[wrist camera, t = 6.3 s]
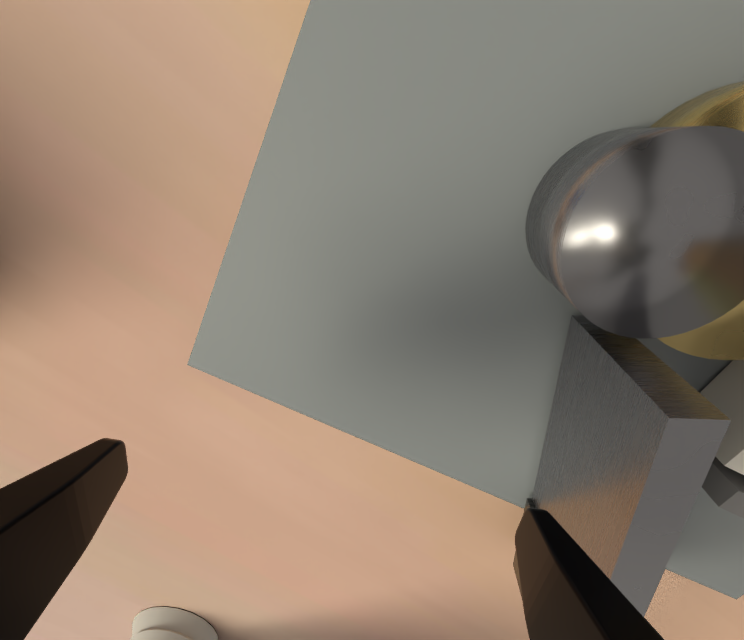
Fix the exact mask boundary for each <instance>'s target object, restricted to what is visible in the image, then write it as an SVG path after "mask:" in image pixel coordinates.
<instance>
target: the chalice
mask: <svg viewBox="0 0 744 640" xmlns="http://www.w3.org/2000/svg"><path fill="white" fill-rule="evenodd" d="M130 640H218V636H217V634H216V632H215V630H214V629H213V627H212V626H211V625H210V624H208V623H207V622H206V621H205V620H204V619H202V618H200V617H199V616H197V615H195V614H193V613H191V612H187V611H184V610H181V609H178V608H170V607H154V608H149V609H146V610H143V611H141V612H140V613H139V614H137V615H136V616H135V617H134V620H133V623H132V637H131V639H130Z"/></svg>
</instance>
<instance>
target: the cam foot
mask: <svg viewBox="0 0 744 640" xmlns="http://www.w3.org/2000/svg"><path fill="white" fill-rule="evenodd" d="M700 394H701V395H703V396H704V397H705V398H706V399H707V400H708V401H710V402H711V403H712V404H713V405H714V406H715V407H717V408H718V409H719V410H720V411H721V412H722V413H724V414H725V415H726V416H727V417H728V418H729V419H731V422H730V424H729V426H728V428H727V431H726V433H725V435H724V438H723V440H722V442H721V444H720V447H719V449H718V451H717V453H716V456H715V457H716V458H717V459H718V460H719V461H720V462H721V463H722V464H723V465H724V466H726V467H728V468H730V469H732V470H734V471H736V472H738V473H740V474H743V475H744V360H733V361H732V362H731V363H730V364H729V365H728V366H727V367H726V368H725V369H724V370H723V371H722V372H720V373H719V374H718V375H717V376H716V377H715V378H714V379H713V380H712V381H711V382H710V383H709V384H708V385H707V386H706V387H705V388H704V389H703V390H702V391H701V392H700Z"/></svg>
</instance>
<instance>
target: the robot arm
mask: <svg viewBox="0 0 744 640" xmlns="http://www.w3.org/2000/svg"><path fill="white" fill-rule="evenodd" d="M127 473H128V463H127V455H126V448H125V444H124V442H123V441H121V440H116V439H109V438H103V439H100V440H98V441H96V442H94V443H92V444H90V445H88V446H86V447H84V448H82V449H80V450H78V451H76V452H74V453H72V454H70V455H68V456H66V457H64V458H62V459H59V460H57V461H55V462H53V463H51V464H49V465H47V466H45V467H43V468H41V469H39V470H37V471H35V472H33V473H31V474H29V475H27V476H25V477H23V478H21V479H19V480H17V481H15V482H13V483H11V484H9V485H7V486H5V487H3V488H1V489H0V640H24V639H25V637H26V636H27V634H28V633H29V631H30V630H31V629H32V627H33V626H34V624H35V623H36V621H37V620H38V618H39V617H40V615H41V614H42V613H43V611H44V610H45V608H46V607H47V605H48V604H49V602H50V601H51V599H52V598H53V597H54V595H55V594H56V592H57V591H58V589H59V588H60V586H61V585H62V583H63V582H64V581H65V579H66V578H67V576H68V575H69V573H70V572H71V570H72V569H73V567H74V566H75V565H76V563H77V562H78V560H79V559H80V557H81V556H82V554H83V553H84V551H85V550H86V548H87V546H88V545H89V543H90V541H91V540H92V538H93V536H94V535H95V533H96V531H97V529H98V527H99V526H100V524H101V522H102V520H103V518H104V517H105V515H106V513H107V511H108V509H109V508H110V506H111V504H112V502H113V500H114V499H115V497H116V495H117V493H118V491H119V490H120V488H121V486H122V484H123V482H124V481H125V479H126V476H127ZM515 546H516V554H517V562H518V569H519V577H520V585H521V592H522V600H523V607H524V614H525V620H526V625H527V629H528V634H529V638H530V640H664V639H663V638H662V637H661V636H660V634H659V633H658V632H657V631H656V630H655V629H654V628H653V627H652V626H651V624H650V623H649V622H648V621H647V620H646V619H645V618H644V617H643V616H642V615H641V613H640V612H639V611H638V610H637V609H636V608H635V607H634V606H633V605H632V603H631V602H630V601H629V600H628V599H627V598H626V597H625V596H624V595H623V594H622V592H621V591H620V590H619V589H618V588H617V587H616V586H615V585H614V584H613V582H612V581H611V580H610V579H609V578H608V577H607V576H606V575H605V574H604V573H603V571H602V570H601V569H600V568H599V567H598V566H597V565H596V564H595V563H594V561H593V560H592V559H591V558H590V557H589V556H588V555H587V554H586V553H585V552H584V550H583V549H582V548H581V547H580V546H579V545H578V544H577V543H576V542H575V540H574V539H573V538H572V537H571V536H570V535H569V534H568V533H567V532H566V531H565V529H564V528H563V527H562V526H561V525H560V524H559V523H558V522H557V521H556V519H555V518H554V517H553V516H552V515H551V514H550V513H549V512H548V511H546V510H543V509H537V508H531V507H530V508H527V509H526V511H525V512H524V515H523V517H522V519H521V521H520V524H519V526H518V528H517V531H516V534H515Z"/></svg>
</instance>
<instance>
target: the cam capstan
mask: <svg viewBox="0 0 744 640" xmlns="http://www.w3.org/2000/svg"><path fill="white" fill-rule="evenodd" d="M525 233H526V243H527V248H528V251H529V254H530V257H531V259H532V261H533V263H534V265H535V266H536V268H537V269H538V270H539V272H540V273H541V274H542V275H543V276H544V277H545V278H546V279H547V280H548V281H549V282H550V283H551V284H552V285H553V286H554V287H555V288H556V289H557V290H558V291H559V292H560V293H561V294H562V295H563V296H564V297H565V298H566V299H567V300H568V301H569V302H570V303H571V304H572V305H573V306H574V307H575V308H576V309H577V310H579V311H580V312H581V313H582V314H583V315H571V319H570V323H569V328H568V333H567V337H566V342H565V347H564V351H563V356H562V361H561V365H560V370H559V375H558V379H557V384H556V389H555V393H554V398H553V402H552V407H551V412H550V416H549V421H548V426H547V430H546V435H545V440H544V444H543V449H542V454H541V458H540V463H539V468H538V472H537V477H536V481H535V486H534V491H533V495H532V498H527V499H526V504H525V509H524V512H525V511H526V509H527V508H530V507H531V508H537V509H543V510H546V511H548V512H549V513H550V514H551V515H552V516H553V517H554V518H555V519H556V521H557V522H558V523H559V524H560V525H561V526H562V527H563V528H564V529H565V531H566V532H567V533H568V534H569V535H570V536H571V537H572V538H573V539H574V540H575V542H576V543H577V544H578V545H579V546H580V547H581V548H582V549H583V550H584V552H585V553H586V554H587V555H588V556H589V557H590V558H591V559H592V560H593V561H594V563H595V564H596V565H597V566H598V567H599V568H600V569H601V570H602V571H603V573H604V574H605V575H606V576H607V577H608V578H609V579H610V580H611V581H612V582H613V584H614V585H615V586H616V587H617V588H618V589H619V590H620V591H621V592H622V594H623V595H624V596H625V597H626V598H627V599H628V600H629V601H630V602H631V603H632V605H633V606H634V607H635V608H636V609H637V610H638V611H639V612H640V613H641V615H642V616H643V617H644V616H645V613H646V611H647V609H648V607H649V604H650V602H651V600H652V598H653V595H654V593H655V591H656V589H657V586H658V584H659V582H660V580H661V577H662V575H663V573H664V571H665V568H666V566H667V564H668V562H669V559H670V557H671V555H672V553H673V550H674V548H675V546H676V543H677V541H678V539H679V537H680V534H681V532H682V530H683V528H684V525H685V523H686V521H687V519H688V516H689V514H690V512H691V510H692V507H693V505H694V503H695V501H696V498H697V496H698V494H699V492H700V489H701V487H702V485H703V483H704V480H705V478H706V476H707V474H708V471H709V469H710V467H711V465H712V462H713V460H714V458H715V456H716V453H717V451H718V449H719V447H720V444H721V442H722V440H723V438H724V435H725V433H726V431H727V428H728V426H729V424H730V422H731V419H729V418H728V417H727V416H726V415H725V414H724V413H722V412H721V411H720V410H719V409H718V408H717V407H715V406H714V405H713V404H712V403H711V402H710V401H708V400H707V399H706V398H705V397H704V396H703V395H701V394H700V393H699V392H698V391H697V390H696V389H694V388H693V387H692V386H691V385H690V384H689V383H688V382H686V381H685V380H684V379H683V378H682V377H681V376H679V375H678V374H677V373H676V372H675V371H674V370H672V369H671V368H670V367H669V366H668V365H667V364H665V363H664V362H663V361H662V360H661V359H660V358H658V357H657V356H656V355H655V354H654V353H653V352H651V351H650V350H649V349H648V348H647V347H646V346H644V345H643V344H642V343H641V342H640V341H639V340H637V339H636V338H641V339H649V338H657V339H659V340H660V341H662V342H663V343H664V344H666V345H668V346H670V347H672V348H674V349H676V350H678V351H681V352H684V353H686V354H689V355H692V356H697V357H702V358H707V359H717V360H744V81H743V82H738V83H733V84H729V85H725V86H722V87H719V88H716V89H713V90H710V91H707V92H705V93H703V94H701V95H699V96H697V97H694V98H692V99H690V100H688V101H686V102H685V103H683V104H681V105H680V106H678V107H676V108H675V109H673V110H672V111H670V112H668V113H667V114H666V115H665V116H663V117H662V118H661V119H659V120H658V121H657V122H655V123H654V124H653V125H652V126H650V127H649V128H626V129H617V130H612V131H607V132H604V133H601V134H598V135H595V136H593V137H591V138H589V139H587V140H584V141H582V142H581V143H579V144H578V145H576V146H574V147H573V148H571V149H570V150H569V151H568V152H566V153H565V154H564V155H563V156H561V157H560V158H559V159H558V160H557V161H556V162H555V163H554V164H553V165H552V166H551V168H550V169H549V170H548V171H547V173H546V174H545V175H544V176H543V178H542V180H541V181H540V183H539V184H538V186H537V188H536V190H535V192H534V194H533V196H532V199H531V202H530V205H529V208H528V212H527V217H526V226H525ZM523 515H524V514H523ZM513 566H514V570H515V574H516V578H517V581H518V585H519V589H520V593H521V596H522V592H521V585H520V577H519V569H518V562H517V554H516V552H515V557H514V562H513Z"/></svg>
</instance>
